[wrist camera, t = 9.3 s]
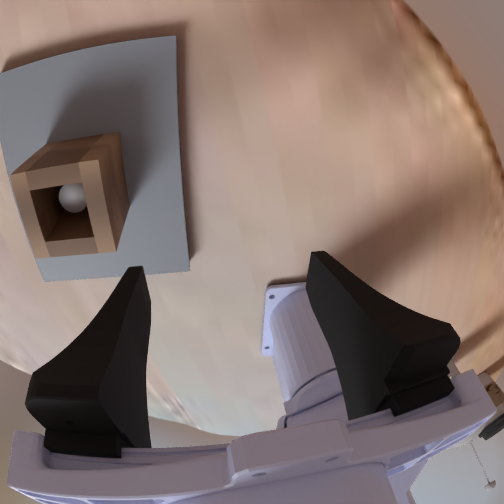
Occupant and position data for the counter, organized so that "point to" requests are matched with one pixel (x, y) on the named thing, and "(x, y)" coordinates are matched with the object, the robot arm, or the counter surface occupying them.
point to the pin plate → (102, 122)
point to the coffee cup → (500, 400)
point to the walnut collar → (95, 190)
